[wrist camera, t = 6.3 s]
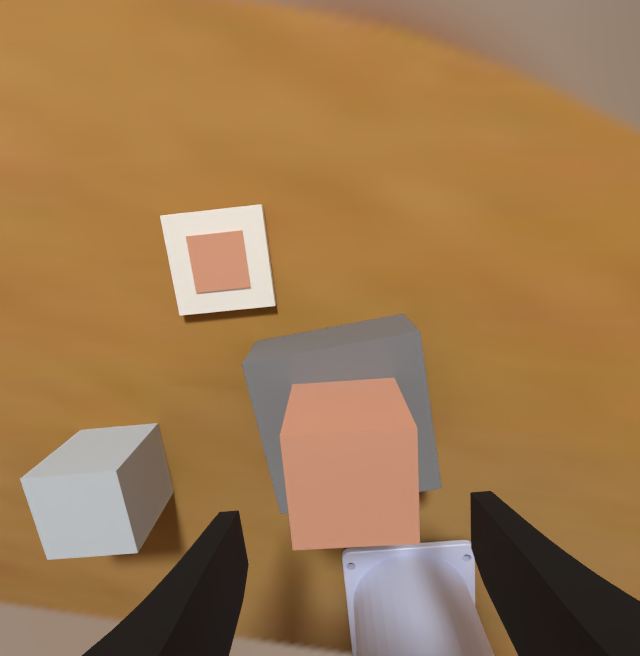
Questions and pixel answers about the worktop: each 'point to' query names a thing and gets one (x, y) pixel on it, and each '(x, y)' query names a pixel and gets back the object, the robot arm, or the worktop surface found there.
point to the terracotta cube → (350, 465)
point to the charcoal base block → (340, 365)
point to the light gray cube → (99, 492)
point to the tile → (219, 259)
